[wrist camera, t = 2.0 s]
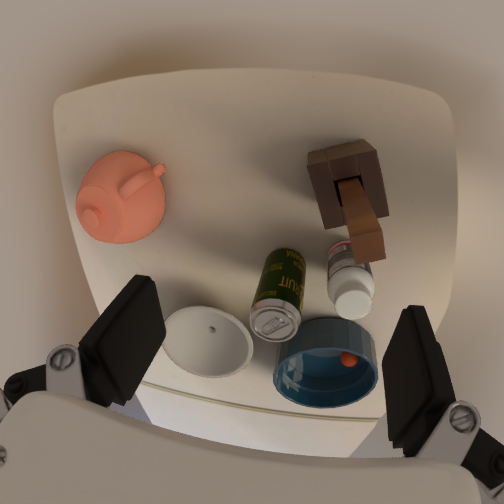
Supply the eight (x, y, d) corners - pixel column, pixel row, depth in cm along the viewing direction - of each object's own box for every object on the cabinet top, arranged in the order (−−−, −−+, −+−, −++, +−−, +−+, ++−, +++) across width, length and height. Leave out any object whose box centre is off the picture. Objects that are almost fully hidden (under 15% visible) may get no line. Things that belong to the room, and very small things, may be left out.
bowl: (369, 306, 40) (375, 338, 35) (376, 372, 47) (379, 401, 41) (266, 323, 46) (259, 354, 40) (292, 383, 52) (288, 411, 47)
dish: (196, 267, 43) (183, 287, 39) (279, 317, 44) (274, 340, 40) (160, 330, 52) (148, 349, 48) (226, 368, 53) (219, 389, 49)
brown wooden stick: (349, 162, 31) (382, 229, 16) (354, 178, 32) (386, 259, 17) (333, 166, 32) (349, 236, 17) (337, 182, 33) (355, 265, 18)
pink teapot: (88, 177, 39) (41, 202, 30) (150, 121, 33) (100, 135, 25) (131, 242, 43) (93, 279, 34) (200, 200, 37) (165, 236, 29)
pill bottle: (365, 274, 38) (375, 324, 30) (326, 275, 39) (327, 325, 31) (367, 238, 35) (380, 283, 27) (325, 239, 37) (327, 285, 28)
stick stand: (364, 139, 30) (376, 149, 24) (376, 193, 32) (389, 215, 26) (308, 152, 32) (306, 165, 26) (323, 205, 35) (325, 230, 29)
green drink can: (286, 286, 41) (274, 350, 31) (257, 262, 40) (236, 323, 30) (314, 263, 39) (311, 327, 28) (285, 237, 38) (271, 295, 27)
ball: (357, 343, 43) (358, 357, 41) (359, 354, 45) (360, 368, 42) (339, 346, 44) (339, 360, 42) (341, 357, 46) (341, 371, 43)
